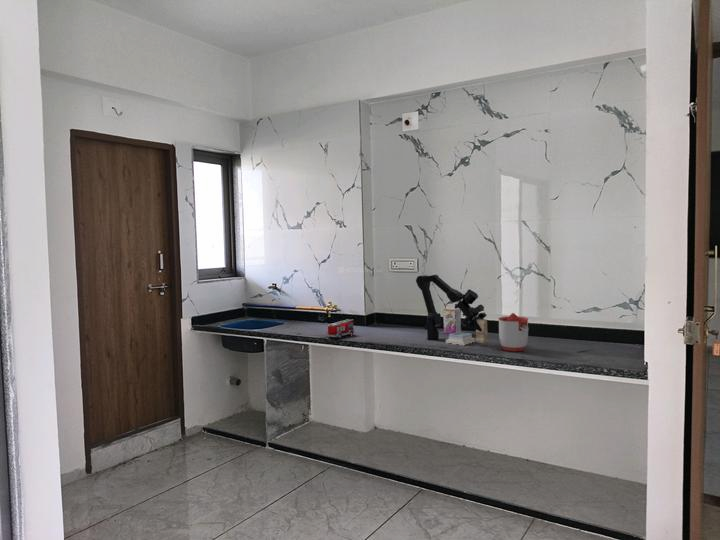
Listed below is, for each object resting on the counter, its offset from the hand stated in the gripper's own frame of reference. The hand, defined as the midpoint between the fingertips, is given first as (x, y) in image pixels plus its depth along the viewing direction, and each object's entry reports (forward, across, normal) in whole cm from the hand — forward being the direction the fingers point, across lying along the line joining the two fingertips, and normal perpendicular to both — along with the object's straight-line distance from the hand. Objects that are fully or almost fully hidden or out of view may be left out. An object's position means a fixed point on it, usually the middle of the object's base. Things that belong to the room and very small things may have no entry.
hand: (483, 330), depth 310 cm
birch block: (+4, 0, +6) cm, 7 cm away
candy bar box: (-18, +20, +30) cm, 40 cm away
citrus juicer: (+20, -1, -7) cm, 21 cm away
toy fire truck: (-56, -25, +69) cm, 93 cm away
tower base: (-5, 0, +17) cm, 18 cm away
